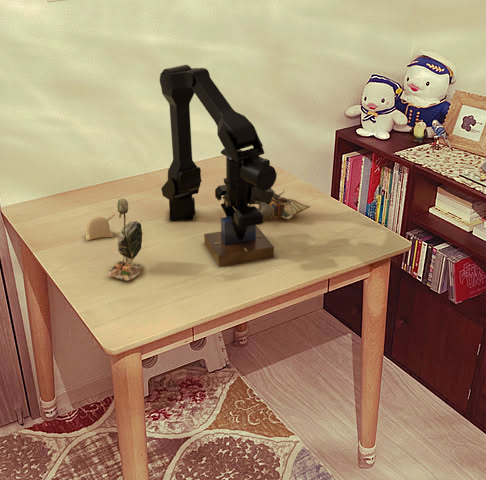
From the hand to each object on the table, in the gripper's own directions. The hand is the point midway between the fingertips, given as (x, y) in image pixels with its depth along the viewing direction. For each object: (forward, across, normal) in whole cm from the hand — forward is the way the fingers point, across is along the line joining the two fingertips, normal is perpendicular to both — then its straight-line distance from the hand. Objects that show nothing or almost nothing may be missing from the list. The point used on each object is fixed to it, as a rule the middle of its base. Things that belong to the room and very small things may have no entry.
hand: (238, 236), depth 176 cm
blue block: (+1, 0, 0) cm, 1 cm away
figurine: (+4, +15, -16) cm, 23 cm away
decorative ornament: (+4, +20, +31) cm, 37 cm away
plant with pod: (+4, -1, +28) cm, 29 cm away
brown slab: (+4, 0, 0) cm, 4 cm away
